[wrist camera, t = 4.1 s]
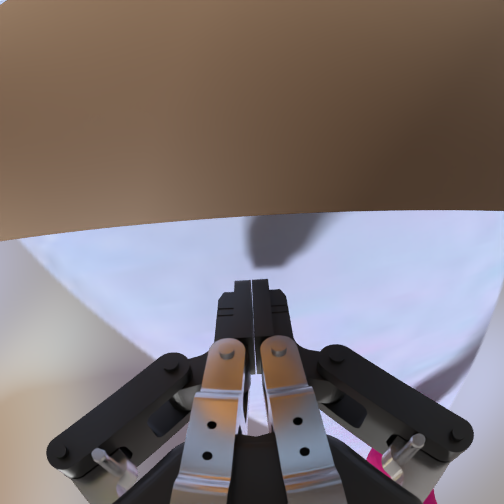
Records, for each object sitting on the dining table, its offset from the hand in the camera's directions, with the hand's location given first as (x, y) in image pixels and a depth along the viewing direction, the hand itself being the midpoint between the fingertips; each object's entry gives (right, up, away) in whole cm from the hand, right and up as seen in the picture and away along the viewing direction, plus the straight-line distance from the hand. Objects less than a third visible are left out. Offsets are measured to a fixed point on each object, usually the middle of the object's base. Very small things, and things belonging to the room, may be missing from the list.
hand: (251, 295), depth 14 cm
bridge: (-1, +8, -3) cm, 9 cm away
